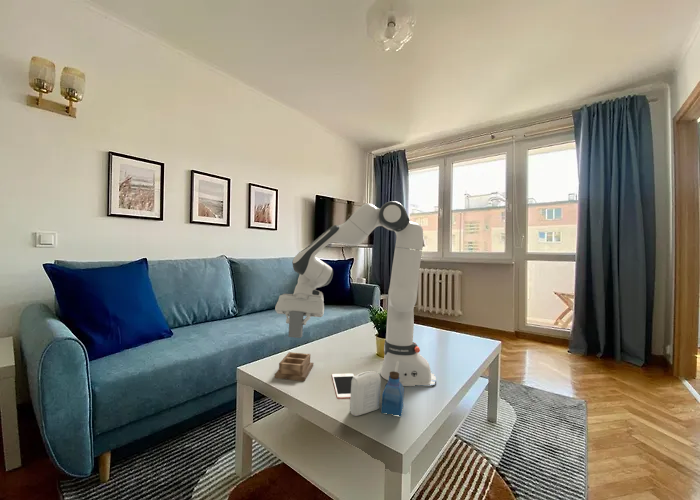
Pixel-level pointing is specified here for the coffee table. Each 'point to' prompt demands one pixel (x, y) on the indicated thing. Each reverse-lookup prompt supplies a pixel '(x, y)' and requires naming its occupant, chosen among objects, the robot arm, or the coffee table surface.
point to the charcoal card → (296, 324)
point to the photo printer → (365, 393)
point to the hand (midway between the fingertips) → (295, 323)
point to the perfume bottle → (393, 395)
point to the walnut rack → (294, 367)
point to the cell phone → (342, 385)
